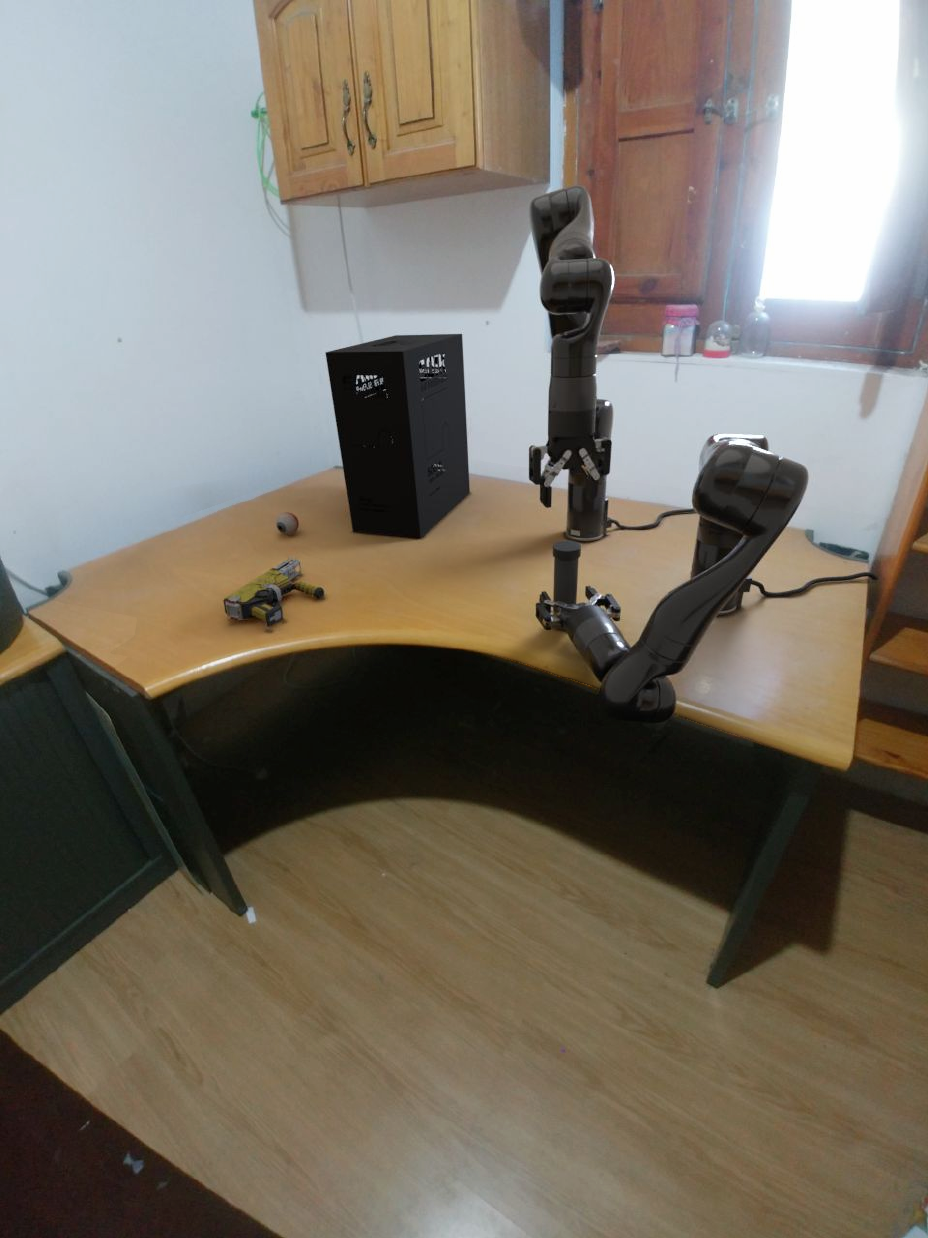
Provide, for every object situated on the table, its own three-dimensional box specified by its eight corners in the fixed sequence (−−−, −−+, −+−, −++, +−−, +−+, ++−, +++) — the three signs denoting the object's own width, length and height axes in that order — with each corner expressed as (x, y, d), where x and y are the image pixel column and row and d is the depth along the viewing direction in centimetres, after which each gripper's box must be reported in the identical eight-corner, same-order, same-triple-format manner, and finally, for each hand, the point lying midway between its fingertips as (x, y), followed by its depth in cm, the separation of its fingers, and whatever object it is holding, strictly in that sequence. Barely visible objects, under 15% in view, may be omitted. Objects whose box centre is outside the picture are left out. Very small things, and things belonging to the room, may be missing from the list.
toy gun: (343, 567, 137) (286, 555, 141) (282, 613, 117) (218, 598, 121) (344, 585, 139) (288, 574, 143) (284, 634, 119) (221, 619, 123)
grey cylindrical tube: (555, 617, 119) (558, 542, 111) (577, 620, 117) (581, 544, 109) (550, 628, 116) (551, 551, 107) (572, 631, 114) (575, 553, 106)
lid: (556, 547, 112) (556, 538, 111) (583, 550, 110) (583, 541, 109) (549, 558, 108) (549, 549, 107) (577, 561, 106) (577, 552, 105)
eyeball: (273, 537, 164) (268, 516, 161) (287, 528, 169) (282, 508, 166) (291, 539, 161) (286, 518, 158) (305, 530, 166) (301, 510, 163)
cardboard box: (410, 488, 194) (395, 335, 172) (469, 492, 188) (462, 333, 165) (352, 531, 164) (325, 352, 142) (420, 538, 158) (403, 351, 135)
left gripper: (602, 396, 101) (596, 491, 109) (521, 404, 98) (521, 502, 106) (624, 403, 94) (616, 504, 103) (538, 413, 91) (537, 516, 100)
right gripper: (639, 611, 98) (602, 570, 112) (554, 623, 96) (528, 579, 110) (634, 650, 102) (600, 605, 116) (553, 661, 100) (528, 615, 114)
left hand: (568, 503), depth 104 cm, fingers open, 7 cm apart
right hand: (565, 592), depth 113 cm, fingers open, 8 cm apart
